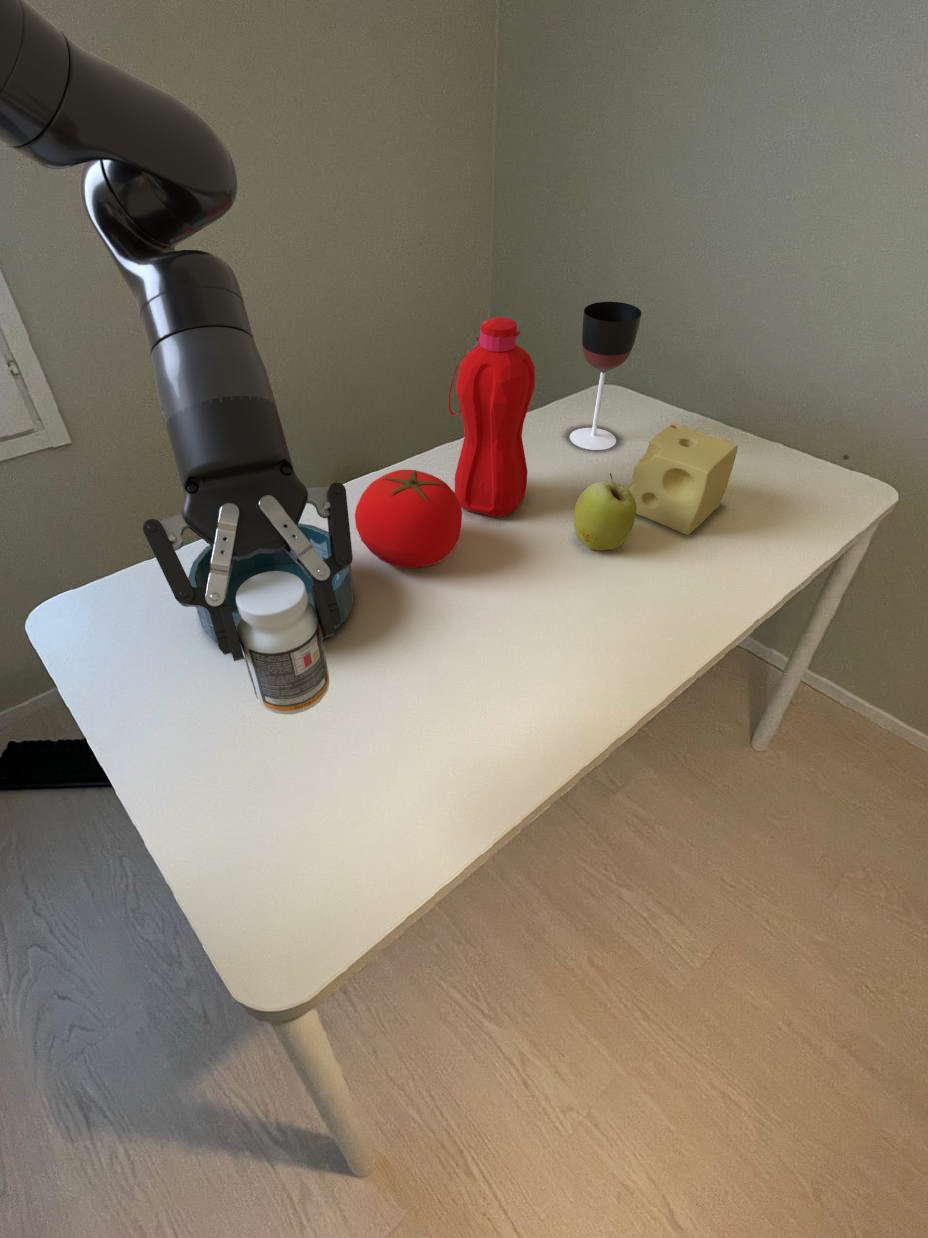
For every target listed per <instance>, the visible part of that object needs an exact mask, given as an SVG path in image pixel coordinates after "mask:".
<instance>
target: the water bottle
mask: <svg viewBox="0 0 928 1238" xmlns="http://www.w3.org/2000/svg"><path fill="white" fill-rule="evenodd" d="M479 331H480V332H479V335H477V336H476V341H475V343H476V344H475V345H474V346H472V347H470V348H469V349H468V350H467V351H466V352H465V354H464V355H463V357H462V358H461V359H460V360H459V361H458V363H457V364H456V366H455V368H454V371H453V375H452V379H451V383H450V386H449V387H450V388H449V392H448V410H449V413H450V414H451V416H453V417H457V416H459V415H460V414H461V417H462V422H463V442H462V446H461V450H460V454H459V458H458V462H457V466H456V469H455V473H454V493H455V495H456V497H457V499H458V501H459V503H460V506H461V509H463V510H465V511H468V512H471V513H476V514H477V513H478V514H482V515H485V516H487V517H489V516H490V517H493V518H500V517H504V516H505V517H506V516H509V515H511V514H512V513H514V512H515V511H516V510H518V509H519V507H520V504H521V503H522V501H523V500H524V497H525V495H526V491H527V484H528V465H527V460H526V453H525V447H524V441H523V429H524V422H525V420H526V416H527V413H528V410H529V407H530V404H531V400H532V398H533V395H534V391H535V388H536V387H535V386H536V370H535V369H536V368H535V364H534V363H533V361H532V358H531V356H530V354H529V353H528V352H527V351H526V350H525V349H524V348H522V347H521V346H519V345H518V344H516V343H517V342H516V341H517V337H519V336H520V334H521V331H518V323H517V322H516V320H515V319H512V318H509V317H504V316H497V317H496V316H495V317H492V318H489V319H486V320H484V321H483V322H482V323H480V329H479ZM459 364H460V365H459ZM458 367H459V369H458ZM457 369H458V374H457V379H456V384H455V390H456V395H457V399H458V403H459V407H460V409H459V412H458V413H457V414H456V413H454V412H453V410H452V408H451V393H452V388H453V383H454V380H455V375H456V372H457Z"/></svg>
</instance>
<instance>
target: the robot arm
mask: <svg viewBox="0 0 928 1238" xmlns="http://www.w3.org/2000/svg"><path fill="white" fill-rule="evenodd" d="M0 143H1V144H3V145H5V146H6V147H7V148H8V149H10V150H12V151H13V152H15V153H17V154H18V155H20V156H21V157H23V158H24V159H26V160H28V161H30V162H32V163H34V164H35V165H38V166H40V167H43V168H46V169H53V170H63V169H69V168H71V167H75V166H79V165H81V169H80V173H79V180H78V181H79V182H78V183H79V185H78V189H79V198H80V202H81V206H82V210H83V212H84V214H85V216H86V219H87V220H88V222H89V225H90V226H91V228H92V230H93V231H94V232H95V234H96V236H97V237H98V240H100V243H101V245H103V247H104V249H105V251H106V252H107V254H108V255H109V256H108V257H110V259H111V261H112V262H113V265H114V266H115V269H116V270H117V272H118V273H119V275H120V277H121V278H122V280H123V283H124V285H125V286H126V287H127V290H128V291H129V292H130V295H131V296H132V299H133V300H134V302H135V305H136V307H137V310H138V315H139V318H140V322H141V326H142V330H143V334H144V337H145V341H146V344H147V348H148V353H149V356H150V359H151V363H152V370H153V377H154V385H155V392H156V394H157V399H158V403H159V406H160V410H161V417H162V420H163V422H164V425H165V428H166V432H167V436H168V439H169V443H170V446H171V451H172V453H173V458H174V461H175V465H176V468H177V471H178V472H177V473H178V475H179V479H180V482H181V483H180V484H181V486H182V490H183V494H184V502H183V505H182V508H181V512H180V513H177V514H175V515H171V516H169V517H166V518H163V519H161V520H158V519H156V518H149V519H146V520H145V521H144V522H143V524H142V532H143V534H144V536H145V538H146V540H147V542H148V544H149V546H150V548H151V551H152V552H153V553H152V554H153V555H154V557H155V559H156V561H157V563H158V564H159V567H160V569H161V571H162V573H163V576H164V577H165V580H166V581H167V584H168V586H169V588H170V590H171V592H172V594H173V596H174V599H175V601H177V602H178V604H180V605H181V606H182V607H184V608H185V607H186V608H189V607H190V608H191V607H192V608H196V607H201V608H204V609H206V610H207V611H208V612H209V613H210V617H211V620H212V624H213V628H214V631H215V635H216V639H217V642H218V643H217V642H216V643H217V646H218V649H219V650H220V651H221V653H222V654H223V655H224V656H226V655H230V654H231V655H232V658H233V659H232V660H233V662H237V661H241V660H245V658H244V655H243V651H242V648H241V644H240V640H239V637H238V633H237V630H236V626H235V622H234V619H233V615H232V611H231V608H230V605H227V603H226V597H227V591H228V585H229V580H230V576H231V571H232V565H233V560H234V559H237V561H240V560H245V559H249V558H251V557H253V556H255V555H256V554H259V553H269V554H271V553H276V552H280V551H282V549H284V550H285V551H286V552H287V554H288V555H289V556H290V557H291V558H292V560H293V561H294V562H295V563H297V564H298V565H299V567H300V568H301V569H302V570H303V571H304V573H305V574H306V575H307V576H308V577H309V579H310V580H311V583H312V586H311V588H310V591H311V595H312V598H313V602H314V606H315V609H316V612H317V615H318V619H319V624H320V627H321V631H322V634H323V637H324V639H326V638H328V637H332V636H335V635H336V630H335V628H334V626H338V625H340V621H341V615H340V611H339V607H338V604H337V600H336V597H335V593H334V589H333V586H332V578H333V576H334V575H336V574H337V573H339V572H340V571H342V570H345V569H346V568H347V567H348V565H351V564H352V562H353V559H354V557H353V556H354V555H353V547H352V546H353V545H352V536H351V527H350V518H349V507H348V506H349V505H348V498H347V496H348V495H347V490H346V486H345V485H344V484H343V483H341V482H333V483H332V484H330V485H329V486H321V487H306V486H305V484H304V483H303V482H302V481H301V480H300V479H299V477H298V476H297V474H296V472H295V469H294V466H293V462H292V459H291V454H290V451H289V447H288V444H287V440H286V437H285V433H284V429H283V426H282V421H281V418H280V414H279V411H278V408H277V403H276V401H275V397H274V393H273V389H272V386H271V382H270V378H269V375H268V372H267V369H266V367H265V363H264V361H263V359H262V357H261V355H260V352H259V350H258V347H257V345H256V341H255V338H254V334H253V331H252V327H251V324H250V319H249V316H248V313H247V308H246V306H245V300H244V297H243V294H242V290H241V287H240V285H239V282H238V279H237V276H236V275H235V272H234V270H233V268H232V267H231V266H230V265H229V264H228V263H227V262H226V261H225V260H224V259H222V258H221V257H220V256H219V255H216V254H214V253H211V252H208V251H205V250H198V249H181V250H176V246H177V245H178V244H181V243H182V242H184V241H185V240H187V239H188V238H191V237H192V236H193V235H195V234H197V233H198V232H200V231H201V230H204V229H205V228H207V227H208V226H210V225H212V224H213V223H216V221H218V220H220V219H221V218H223V217H224V216H225V215H226V214H227V212H229V211H230V210H231V208H232V207H233V206H234V203H235V201H236V198H237V193H238V176H237V171H236V168H235V167H236V166H235V163H234V161H233V158H232V156H231V154H230V152H229V150H228V148H227V146H226V144H225V143H224V141H223V139H222V138H221V137H220V135H219V134H218V133H217V131H216V130H215V129H214V128H213V126H211V124H210V123H209V122H208V121H207V120H206V119H205V118H204V117H202V115H200V114H199V113H198V112H197V111H195V110H194V109H193V108H191V107H190V106H189V105H188V104H186V103H185V102H184V101H182V100H180V99H179V98H177V97H175V96H174V95H172V94H170V93H169V92H167V91H166V90H163V89H161V88H160V87H158V86H155V84H151V83H150V82H148V81H147V80H144V79H142V78H140V77H138V76H137V75H135V74H132V73H131V72H129V71H127V70H125V69H123V68H122V67H120V66H118V65H116V64H114V63H113V62H111V61H108V60H106V59H104V58H103V57H101V56H98V55H97V54H94V53H93V52H90V51H89V50H86V49H85V48H83V47H81V46H80V45H78V44H77V43H75V41H73V40H72V39H71V38H70V37H69V36H68V35H67V34H66V33H64V32H63V31H62V30H60V28H59V27H58V26H56V25H55V24H54V23H53V22H52V21H50V20H49V19H48V18H47V17H46V16H45V15H44V14H42V12H40V11H39V10H38V9H37V8H35V7H34V6H33V5H32V4H31V3H29V1H28V0H0ZM307 504H310V505H312V506H313V507H314V508H315V511H316V514H317V515H318V516H319V518H322V519H327V529H328V530H327V531H328V532H329V541H330V551H331V556H330V557H329V558H327V559H326V560H324V561H323V560H322V558H321V557H320V556H319V555H318V553H317V552H316V551H315V550H314V548H313V547H312V545H311V543H310V542H309V540H308V539H307V538H306V537H305V536H304V534H303V533H302V532H301V531H300V529H299V528H298V527H297V526H298V523H300V521H301V519H302V516H303V513H304V510H305V508H306V505H307ZM187 529H190V530H191V531H192V532H194V533H195V534H196V535H197V536H198V537H199V538H200V539H202V540H203V541H205V542H206V543H207V544H208V545H211V546H212V547H213V554H212V559H211V565H210V573H209V579H208V584H207V588H199V587H192V586H191V583H190V581H189V579H188V577H189V576H188V575H187V573H186V571H185V569H184V567H183V564H182V562H181V561H180V558H179V556H178V554H177V552H176V551H179V550H180V549H182V548H183V546H184V539H183V534H184V532H185V531H186V530H187ZM340 626H341V625H340ZM325 637H326V638H325Z"/></svg>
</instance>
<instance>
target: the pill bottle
mask: <svg viewBox="0 0 928 1238" xmlns="http://www.w3.org/2000/svg"><path fill="white" fill-rule="evenodd" d="M236 603H237V608H238V612H239V615H240V616H241V617H240V619H239V622H238V627H237V632H238V637H239V640H240V644H241V648H242V651H243V655H244V661H245V664H246V668H247V672H248V676H249V678H250V679H249V680H250V682H251V686H252V689H253V692H254V695H255V698H256V699H257V701H258V703H259V705H261V706H262V707H263V708H264V709H265V710H267V711H268V712H272V713H275V714H278V715H296V714H301V713H304V712H307V711H309V710H310V709H312V708H314V707H315V706H316V705H318V704H319V703H320V702H322V700H323V698H325V696H326V694H328V691H329V688H330V674H329V673H330V672H329V669H328V668H329V667H328V661H327V656H326V652H325V647H324V642H323V639H322V636H321V630H320V624H319V619H318V615H317V612H316V610H315V608H314V607H313V606H312V604H311V603H310V602H308V597H307V592H306V588H305V585H304V583H303V581H302V580H301V579H300V578H299V577H298V576H296V575H294V574H292V573H288V572H283V571H270V572H265V573H261V574H258V575H255V576H253V577H251V578H249V579H248V580H246V581H245V582H244V583H243V584H242V585H241V586H240V587H239V589H238V590H237V593H236Z"/></svg>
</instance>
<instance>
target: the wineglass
mask: <svg viewBox="0 0 928 1238" xmlns="http://www.w3.org/2000/svg"><path fill="white" fill-rule="evenodd" d="M641 319H642V311H641V309H640V308H638V306H635V305H633V304H630V303H626V302H620V301H598V302H594V303H591V304H588V305H587V306H585V307H584V309H583V317H582V330H581V331H582V332H581V342H582V343H581V344H582V345H581V346H582V352H583V356H584V358H585V360H586V363H588V364H589V365H590V366H591V367H593V368H594V369H596V370H598V371H600V375H599V379H598V380H599V381H598V387H597V392H596V393H597V394H596V400H595V406H594V407H595V408H594V414H593V421H592V427H582V428H577V429H575V430H573V431H572V432H571V433H570V435H569V440H570V442H571V443H573V445H575V446H577V447H579V448H581V449H585V450H589V451H590V450H591V451H603V450H608V449H610V448H612V447H614V446H615V445H616V444H617V439H616V436H615V435H614V434H612V433H611V432H609V431H607V430H605V429H601V428H598V424H599V419H600V410H601V405H602V398H603V392H604V387H605V381H606V374H607V372H608V371H611V370H613V369H616V368H618V367H619V366H621V365H622V364H623V363H625V362H626V361H627V359H628V358H629V356H630V354H631V353H632V350H633V349H634V345H635V341H636V338H637V335H638V331H639V327H640V322H641Z"/></svg>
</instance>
